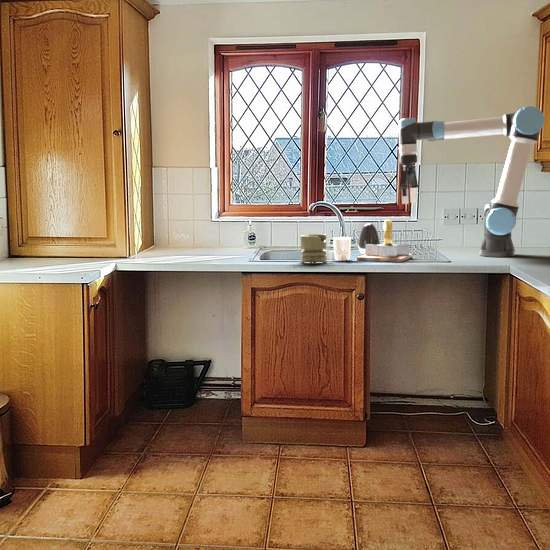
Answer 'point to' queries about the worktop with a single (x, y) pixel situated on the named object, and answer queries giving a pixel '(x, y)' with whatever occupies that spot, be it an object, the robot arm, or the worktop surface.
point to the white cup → (342, 248)
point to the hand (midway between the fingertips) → (409, 203)
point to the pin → (387, 232)
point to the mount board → (385, 258)
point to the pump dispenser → (368, 237)
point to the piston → (313, 248)
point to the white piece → (387, 250)
